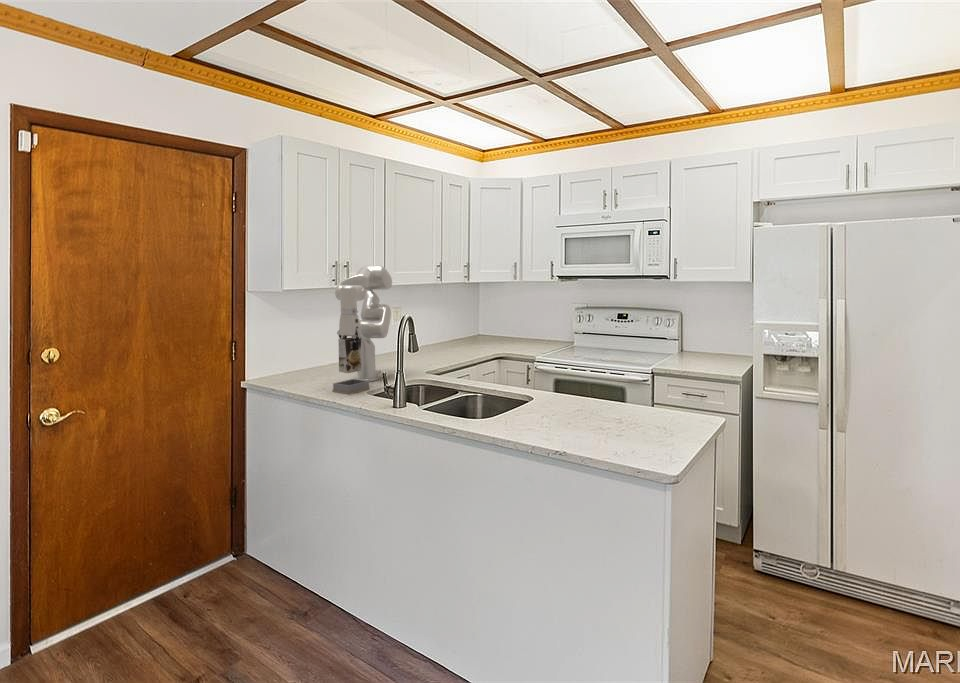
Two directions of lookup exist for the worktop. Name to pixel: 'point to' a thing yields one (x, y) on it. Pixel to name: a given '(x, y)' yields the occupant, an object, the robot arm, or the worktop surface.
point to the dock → (351, 386)
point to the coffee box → (349, 356)
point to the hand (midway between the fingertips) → (350, 349)
